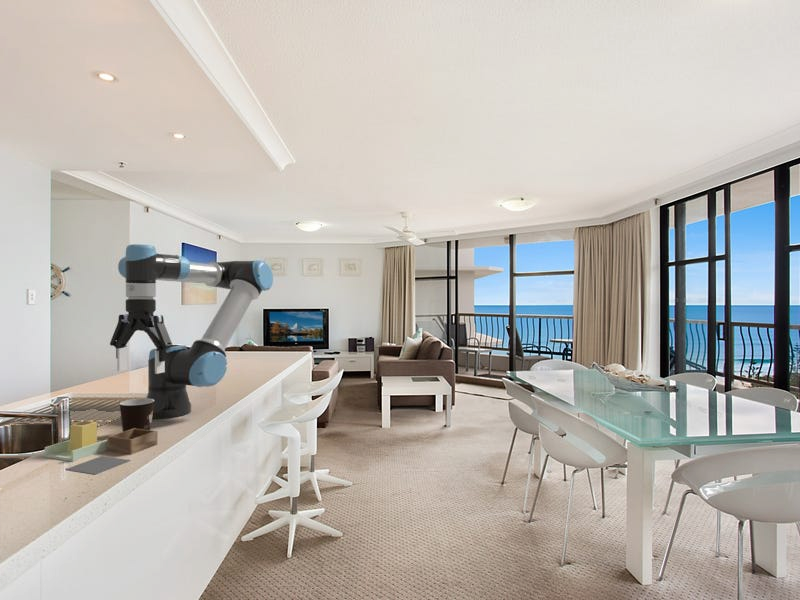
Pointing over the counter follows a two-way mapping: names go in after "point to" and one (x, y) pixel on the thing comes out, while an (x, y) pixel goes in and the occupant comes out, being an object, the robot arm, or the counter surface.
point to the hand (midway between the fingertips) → (140, 371)
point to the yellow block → (82, 434)
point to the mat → (97, 465)
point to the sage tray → (63, 450)
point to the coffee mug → (136, 413)
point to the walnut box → (132, 441)
